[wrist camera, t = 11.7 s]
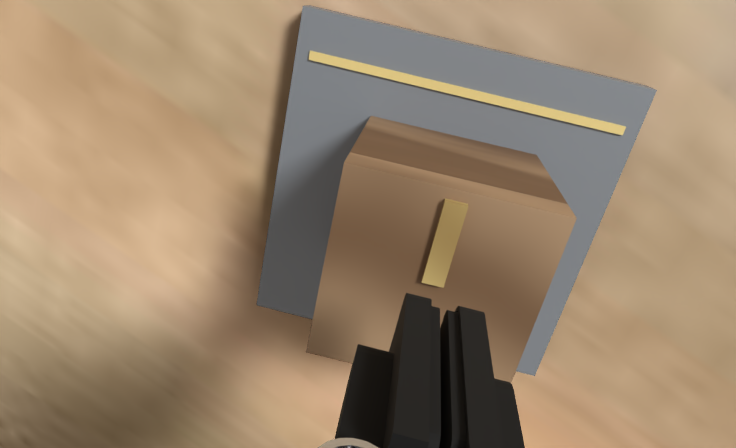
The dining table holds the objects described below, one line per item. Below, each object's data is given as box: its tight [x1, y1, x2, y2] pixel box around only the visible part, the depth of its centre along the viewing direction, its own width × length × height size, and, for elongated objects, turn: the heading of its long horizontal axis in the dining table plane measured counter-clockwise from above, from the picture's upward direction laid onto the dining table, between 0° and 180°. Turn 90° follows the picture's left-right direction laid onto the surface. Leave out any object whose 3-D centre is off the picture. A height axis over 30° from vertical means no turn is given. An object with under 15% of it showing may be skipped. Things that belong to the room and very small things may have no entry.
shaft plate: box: [257, 5, 657, 376], centre depth 19 cm, size 12×12×5 cm
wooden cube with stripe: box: [306, 116, 577, 383], centre depth 17 cm, size 6×6×6 cm
